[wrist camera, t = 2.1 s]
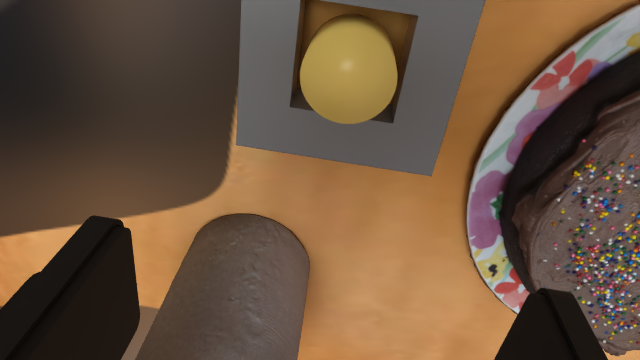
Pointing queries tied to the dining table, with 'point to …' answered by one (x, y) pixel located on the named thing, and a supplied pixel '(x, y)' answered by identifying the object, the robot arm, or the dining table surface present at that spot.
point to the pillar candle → (234, 295)
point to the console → (378, 132)
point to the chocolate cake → (568, 185)
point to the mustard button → (349, 69)
